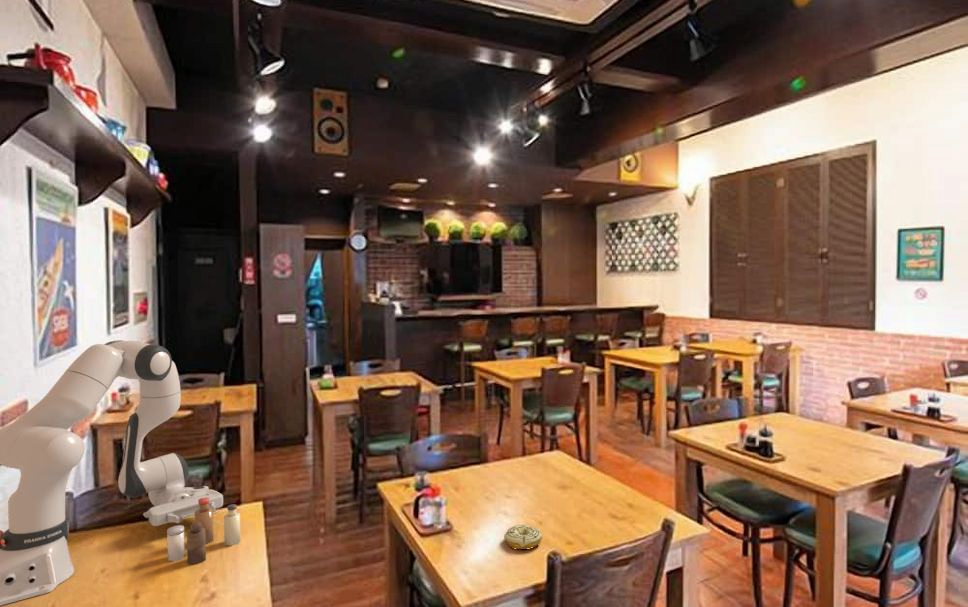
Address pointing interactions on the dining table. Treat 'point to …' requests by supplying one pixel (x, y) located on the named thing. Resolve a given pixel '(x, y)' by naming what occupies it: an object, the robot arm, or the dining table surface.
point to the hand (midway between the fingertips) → (196, 514)
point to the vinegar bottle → (232, 526)
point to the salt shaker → (175, 542)
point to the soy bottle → (205, 518)
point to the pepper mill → (196, 544)
